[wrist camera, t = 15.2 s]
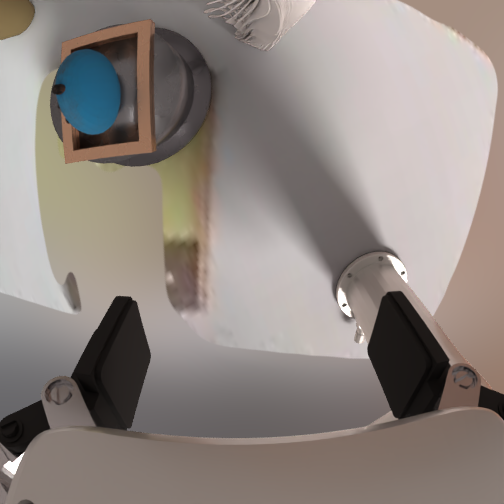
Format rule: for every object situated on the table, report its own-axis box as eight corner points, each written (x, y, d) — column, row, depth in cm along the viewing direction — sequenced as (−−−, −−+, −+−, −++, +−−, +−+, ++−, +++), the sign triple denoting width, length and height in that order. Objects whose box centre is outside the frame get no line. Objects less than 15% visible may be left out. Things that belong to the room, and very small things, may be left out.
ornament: (84, 64, 22) (26, 54, 13) (123, 49, 22) (73, 28, 13) (95, 137, 26) (39, 152, 17) (135, 124, 26) (87, 132, 17)
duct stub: (213, 160, 37) (201, 179, 27) (83, 171, 37) (38, 193, 27) (212, 21, 29) (200, -11, 19) (79, 46, 29) (32, 33, 18)
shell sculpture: (243, -4, 27) (243, -76, 11) (299, 24, 29) (341, -34, 13) (210, 43, 30) (183, -8, 14) (267, 72, 32) (288, 37, 16)
